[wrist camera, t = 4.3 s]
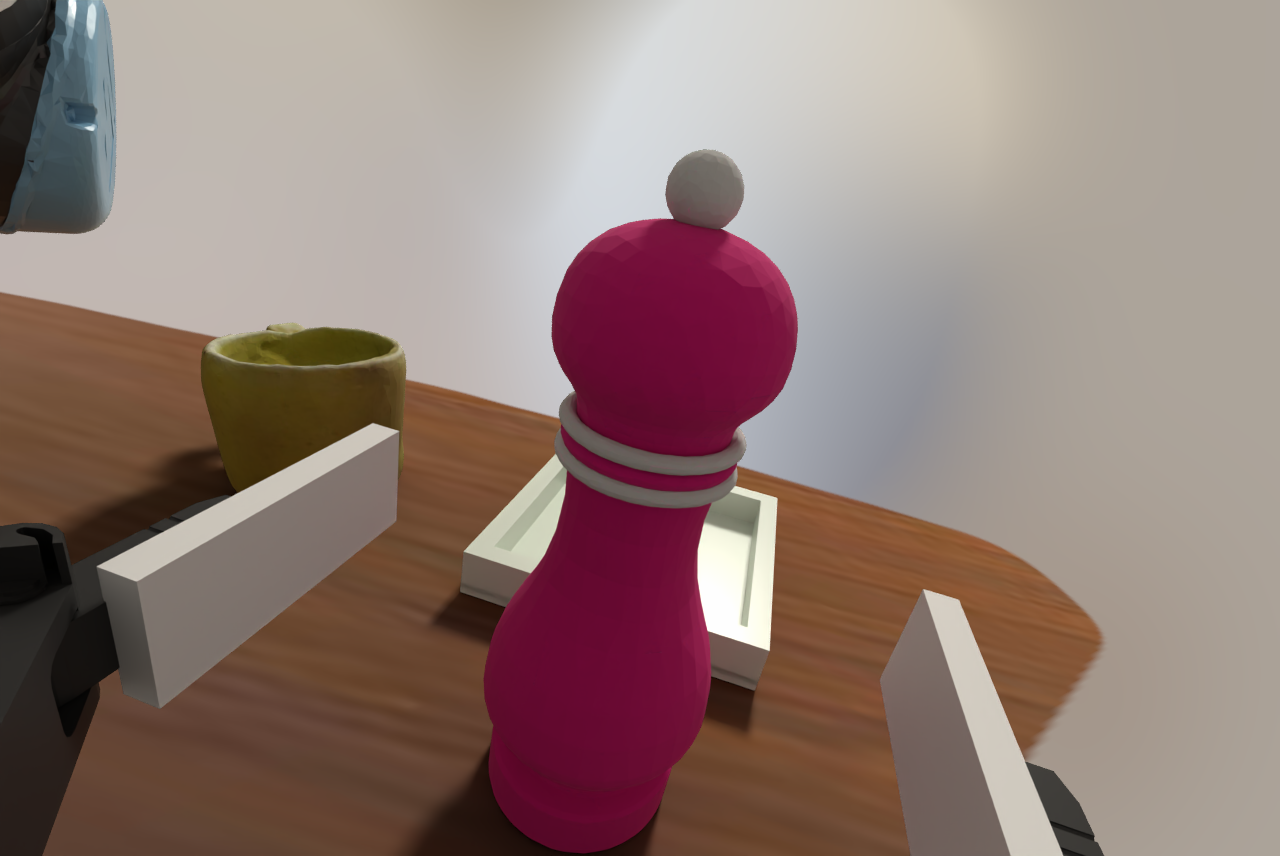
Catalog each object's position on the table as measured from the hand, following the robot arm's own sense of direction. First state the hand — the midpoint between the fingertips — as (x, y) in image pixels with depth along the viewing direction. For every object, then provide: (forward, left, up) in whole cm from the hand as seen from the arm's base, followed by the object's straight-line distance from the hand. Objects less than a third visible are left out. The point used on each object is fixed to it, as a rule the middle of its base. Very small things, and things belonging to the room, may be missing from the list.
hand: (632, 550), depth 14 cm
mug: (-22, +14, -11) cm, 28 cm away
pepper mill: (-1, +2, -11) cm, 11 cm away
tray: (-2, +15, -11) cm, 19 cm away
